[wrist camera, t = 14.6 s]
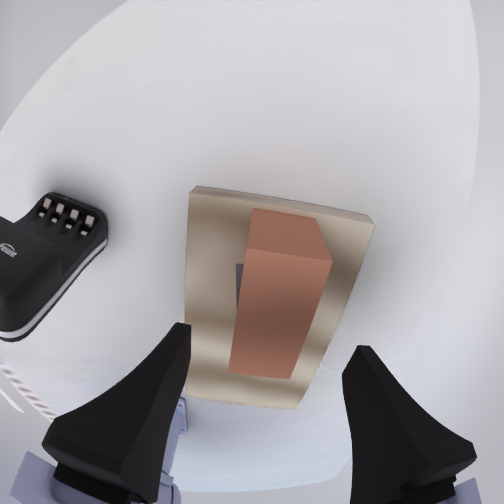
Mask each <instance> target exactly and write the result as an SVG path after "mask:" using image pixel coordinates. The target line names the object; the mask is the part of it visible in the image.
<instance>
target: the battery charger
mask: <svg viewBox="0 0 504 504" xmlns="http://www.w3.org/2000/svg"><path fill="white" fill-rule="evenodd" d="M106 233H107V230H106V221H105V218H104V216H103V214H102V213H101V212H100V211H98V210H96V209H94V208H92V207H89V206H87V205H84V204H82V203H79V202H77V201H74V200H72V199H69V198H67V197H64V196H61V195H59V194H56V193H47V194H46V195H44V196H43V197H42V198H41V199H40V200H39V201H38V202H37V203H36V205H35V206H34V207H33V208H32V209H31V210H30V211H29V212H28V214H26V215H25V216H24V217H23V218H21V219H20V220H18V221H17V222H15V223H12V222H10V221H8V220H6V219H5V218H3V217H1V216H0V339H1V340H3V341H6V342H17V341H20V340H22V339H24V338H26V337H27V336H28V335H29V334H30V333H31V332H32V331H33V330H34V329H35V328H36V327H37V326H38V324H39V323H40V322H41V321H42V320H43V319H44V317H45V316H46V315H47V314H48V313H49V312H50V310H51V309H52V308H53V307H54V306H55V304H56V303H57V302H58V301H59V300H60V298H61V297H62V296H63V295H64V293H65V292H66V291H67V290H68V288H69V287H70V286H71V285H72V283H73V282H74V281H75V280H76V279H77V277H78V276H79V275H80V273H81V272H82V271H83V270H84V269H85V268H86V267H87V266H88V265H89V264H90V263H91V262H92V260H93V259H94V258H95V257H96V256H98V255H99V254H100V253H101V252H102V251H103V250H104V248H105V245H106V242H107V238H106Z"/></svg>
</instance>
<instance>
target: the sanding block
mask: <svg viewBox="0 0 504 504" xmlns="http://www.w3.org/2000/svg"><path fill="white" fill-rule="evenodd" d="M332 262H333V261H332V259H331V256H330V254H329V251H328V249H327V246H326V243H325V241H324V238H323V236H322V233H321V231H320V229H319V226H318V224H317V221H316V219H315V218H310V217H305V216H299V215H293V214H287V213H281V212H275V211H269V210H263V209H257V208H253V211H252V217H251V223H250V230H249V236H248V242H247V249H246V255H245V262H244V268H243V275H242V281H241V287H240V294H239V301H238V307H237V314H236V320H235V327H234V334H233V340H232V347H231V354H230V360H229V367H228V372H230V373H237V374H244V375H252V376H260V377H269V378H279V379H290V377H291V375H292V372H293V370H294V368H295V365H296V363H297V360H298V358H299V355H300V353H301V350H302V347H303V345H304V342H305V340H306V337H307V334H308V332H309V329H310V326H311V324H312V321H313V318H314V315H315V313H316V310H317V307H318V304H319V301H320V298H321V295H322V292H323V289H324V286H325V283H326V280H327V277H328V274H329V271H330V268H331V265H332Z"/></svg>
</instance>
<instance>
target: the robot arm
mask: <svg viewBox="0 0 504 504" xmlns="http://www.w3.org/2000/svg"><path fill="white" fill-rule="evenodd" d="M190 360H191V325H189V324H184V323H179V322H177V323H175V324H174V325H173V327H172V328H171V329H170V331H169V332H168V333H167V335H166V336H165V337H164V338H163V339H162V341H161V342H160V343H159V344H158V345H157V346H156V347H155V349H154V350H153V351H152V352H151V353H150V354H149V355H148V356H147V357H146V358H145V359H144V360H143V361H142V362H141V363H140V364H139V365H138V366H137V367H136V368H135V369H134V370H133V371H132V372H130V373H129V374H128V375H127V376H126V377H125V378H123V379H122V380H121V381H120V382H118V383H117V384H116V385H114V386H113V387H111V388H110V389H109V390H107V391H106V392H104V393H103V394H101V395H100V396H98V397H97V398H95V399H93V400H91V401H90V402H88V403H86V404H84V405H83V406H81V407H79V408H77V409H75V410H73V411H70V412H68V413H66V414H64V415H61V416H59V417H56V418H55V419H54V421H53V422H52V424H51V425H50V427H49V429H48V431H47V433H46V435H45V437H44V439H43V442H42V447H43V448H44V450H45V451H46V452H47V453H48V454H50V455H51V456H52V457H53V458H54V459H55V460H56V461H57V462H58V465H57V467H55V466H53V465H51V464H50V463H48V462H46V461H45V460H43V459H41V458H39V457H38V456H36V455H34V454H33V453H31V452H29V451H27V452H26V454H25V456H24V459H23V461H22V463H21V466H20V468H19V471H18V473H17V476H16V478H15V480H14V483H13V486H12V488H11V491H10V494H9V495H10V497H11V498H13V499H14V500H16V501H17V502H18V503H20V504H181V494H180V491H179V489H178V487H177V486H176V485H175V484H173V483H172V482H173V477H171V476H169V474H170V469H171V467H172V463H173V459H174V454H175V450H176V445H177V441H178V437H179V433H180V434H187V422H186V408H185V401H184V400H183V399H181V398H180V395H181V392H182V389H183V386H184V384H185V381H186V378H187V373H188V369H189V364H190ZM342 385H343V395H344V401H345V406H346V411H347V416H348V421H349V427H350V432H351V439H352V457H353V469H352V471H353V472H352V489H351V498H350V504H481V499H480V495H479V491H478V487H477V483H476V480H475V478H472V479H470V480H468V481H466V482H463V483H461V484H459V485H457V486H455V487H454V485H453V482H455V481H456V476H455V475H456V474H457V473H459V472H460V471H462V470H463V469H465V468H466V467H468V466H469V465H471V464H472V463H473V462H474V461H475V460H476V458H477V455H476V452H475V450H474V446H473V443H472V442H470V441H468V440H466V439H464V438H462V437H460V436H459V435H457V434H455V433H454V432H452V431H450V430H449V429H448V428H446V427H444V426H443V425H442V424H440V423H439V422H438V421H437V420H435V419H434V418H433V417H431V416H430V415H429V414H428V413H427V412H426V411H425V410H424V409H423V408H422V407H421V406H420V405H418V404H417V402H415V400H414V399H412V397H411V396H410V395H409V394H408V393H407V392H406V391H405V390H404V388H403V387H402V386H401V385H400V384H399V382H398V381H397V380H396V379H395V377H394V376H393V375H392V374H391V372H390V371H389V370H388V368H387V367H386V366H385V364H384V363H383V362H382V361H381V359H380V358H379V357H378V355H377V354H376V353H375V352H374V350H373V349H372V348H371V347H370V346H365V345H358V346H357V348H356V350H355V351H354V353H353V355H352V357H351V359H350V361H349V362H348V364H347V366H346V368H345V369H344V371H343V373H342Z"/></svg>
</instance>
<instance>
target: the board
mask: <svg viewBox="0 0 504 504" xmlns="http://www.w3.org/2000/svg"><path fill="white" fill-rule="evenodd" d="M253 208H257V209H263V210H269V211H275V212H281V213H287V214H293V215H299V216H305V217H310V218H315V219H316V221H317V224H318V226H319V229H320V231H321V233H322V236H323V238H324V241H325V243H326V246H327V249H328V251H329V254H330V256H331V259H332V261H333V262H332V265H331V268H330V271H329V274H328V277H327V280H326V283H325V286H324V289H323V292H322V295H321V298H320V301H319V304H318V307H317V310H316V313H315V315H314V318H313V321H312V324H311V326H310V329H309V332H308V334H307V337H306V340H305V342H304V345H303V347H302V350H301V353H300V355H299V358H298V360H297V363H296V365H295V368H294V370H293V372H292V375H291V377H290V379H279V378H269V377H260V376H252V375H244V374H237V373H230V372H228V367H229V360H230V354H231V347H232V340H233V334H234V327H235V320H236V314H237V307H238V301H239V294H240V287H241V281H242V275H243V268H244V262H245V255H246V249H247V242H248V236H249V230H250V223H251V217H252V211H253ZM374 226H375V224H374V223H373V222H372V220H371V219H370V218H369V217H368V216H367V215H362V214H358V213H353V212H348V211H343V210H339V209H334V208H329V207H323V206H318V205H313V204H308V203H302V202H297V201H291V200H285V199H279V198H274V197H268V196H261V195H255V194H249V193H242V192H235V191H228V190H221V189H214V188H206V187H199V186H195V188H194V189H193V190H192V191H191V192H190V194H189V208H188V224H187V244H186V270H185V324H189V325H191V360H190V364H189V369H188V373H187V378H186V395H187V396H191V397H196V398H202V399H207V400H213V401H219V402H226V403H233V404H240V405H248V406H257V407H267V408H279V409H293V410H296V409H297V407H298V405H299V403H300V402H301V400H302V398H303V396H304V394H305V392H306V390H307V388H308V386H309V384H310V382H311V380H312V378H313V376H314V374H315V372H316V370H317V368H318V366H319V364H320V362H321V360H322V358H323V356H324V354H325V352H326V349H327V347H328V345H329V343H330V341H331V338H332V336H333V334H334V332H335V329H336V327H337V325H338V323H339V320H340V318H341V315H342V313H343V311H344V308H345V306H346V303H347V301H348V298H349V296H350V293H351V291H352V288H353V286H354V283H355V280H356V278H357V275H358V272H359V270H360V267H361V264H362V261H363V259H364V256H365V253H366V250H367V247H368V244H369V241H370V238H371V235H372V232H373V229H374Z"/></svg>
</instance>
